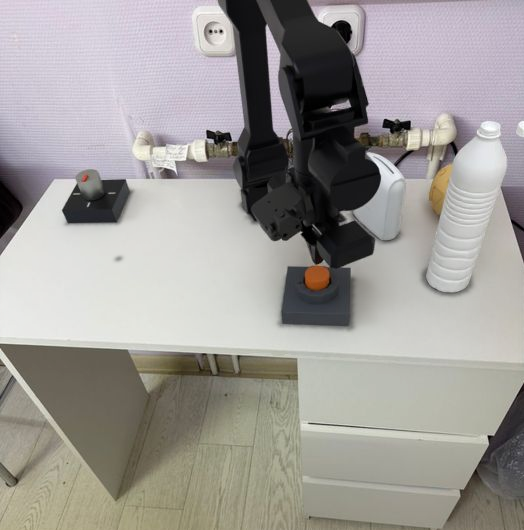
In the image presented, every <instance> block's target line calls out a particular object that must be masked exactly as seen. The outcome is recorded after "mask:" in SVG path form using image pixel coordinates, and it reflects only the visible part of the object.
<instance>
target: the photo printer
mask: <svg viewBox="0 0 524 530" xmlns="http://www.w3.org/2000/svg"><path fill="white" fill-rule="evenodd" d="M366 154H367V155H368V156H369V157H370V158H371V159H372V160H373V161H374V162H375V163H376V165H377V166H378V168H379V171H380V174H381V183H380V186H379V189H378V191H377V193H376V194H375V195H374V197H373V198H372V199H371V200H370V201H369V202H368V203H367V204H365V205H364V206H362V207H360V208H358V209H356V210H352V214H353V215H354V216H355V218H356V219H357V220H358V222H359V223H360V224H361V225H363V226H364V227H365V228H366V229H367V230H368V231H369V232H370V233H371V234H372V235H375V237H377V238H378V239H380V240H382V241H390V240H391V241H392V240H393V239H396V237H397V236H398V234H399V233H400V230H401V224H402V217H403V209H404V203H405V197H406V191H407V190H406V189H407V181H406V178H405V177H404V175H403V174H402V172H401V171H400V170H399V169H398V167H396V165H394V163H392V162H391V160H389V159H387V158H386V157H384V156H382V155H380V154H378V153H375V152H369V151H367V152H366Z"/></svg>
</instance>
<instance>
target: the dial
mask: <svg viewBox="0 0 524 530" xmlns="http://www.w3.org/2000/svg"><path fill="white" fill-rule="evenodd" d="M102 180H103V179H102V178H101V175H100V173H99V171H98V170H96V169H93V168H89V169H84V170H82V171H79V172H78V173H77V174H76V175H75V182H76V184H78V186H79V189H80V191H81V193H82V196H83V198H84V199H86V200H90V201H92V200H97V199H99V198H101V197H103V196H104V194H105V188H104V186H103V183H102Z"/></svg>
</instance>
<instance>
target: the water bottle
mask: <svg viewBox="0 0 524 530" xmlns="http://www.w3.org/2000/svg"><path fill="white" fill-rule="evenodd" d="M501 127H502V125H501V124H500V123H499V122H497V121H493V120H486V121H483V122H482V123H481V124H480V125H479V128H478V129H477V130H476V135H475V136H474V137H473V138H472V139H470V140H469V141H468V142H467V143H466V144H464V146H463V147H462V148H460V149H459V150H458V152H457V153H456V155H455V156H454V158H453V161H452V163H453V164H452V169H451V174H450V178H449V183H448V187H447V191H446V195H445V199H444V204H443V208H442V211H441V215H440V216H439V221H438V224H437V228H436V234H435V237H434V242H433V245H432V250H431V254H430V258H429V263H428V266H427V269H426V275H425V278H426V280H427V283H428V284H429V286H430V287H432V288H433V289H436V290H437V291H439V292H441V293H451V294H452V293H459V292H460V291H463V290H465V289H466V288H467V286H468V285H469V283H470V281H471V278H472V275H473V270H474V268H475V265H476V262H477V259H478V257H479V253H480V250H481V248H482V245H483V241H484V238H485V234H486V231H487V229H488V226H489V223H490V219H491V216H492V215H493V214H492V213H493V210H494V208H495V205H496V202H497V198H498V195H499V193H500V190H501V187H502V183H503V181H504V178H505V176H506V173H507V169H508V157H507V154H506V152H505V149H504V146H503V145H502V142H501V140H500V137H501V135H502V132H501ZM515 134H516V135H517V136H518V137H520V138H523V139H524V120H522V121H520V122H518V124H517V126H516V129H515Z"/></svg>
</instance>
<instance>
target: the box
mask: <svg viewBox="0 0 524 530" xmlns="http://www.w3.org/2000/svg"><path fill="white" fill-rule="evenodd" d="M312 266H313V265H310V266H301V265H300V266H298V265H297V266H295V265H289V266H287V268H286V274H285V282H284V289H283V295H282V305H281V310H280V311H281V312H280V313H281V324H283V325H304V326H305V325H307V326H330V327H331V326H332V327H349V326H350V319H351V318H350V317H351V282H352V281H351V280H352V279H351V277H352V269H351V267H346V266H342V267H340V268H337V269H336V268H330V267H329V266H325V265H322V266H323V267H325V268H327V269H328V271H329V285H328V286H327V287H326V288H325V289H322V290H311V289H309V288H308V287H307V286H306V284H305V272H306V270H307V269H308V268H310V267H312Z"/></svg>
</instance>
